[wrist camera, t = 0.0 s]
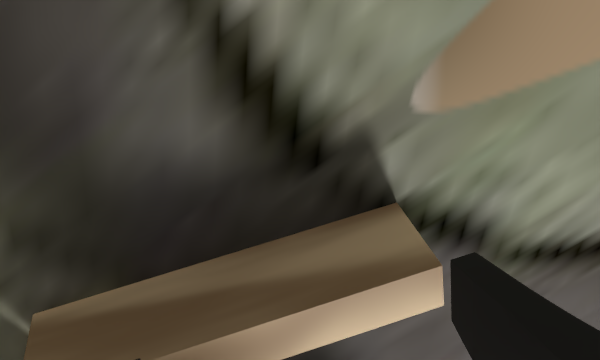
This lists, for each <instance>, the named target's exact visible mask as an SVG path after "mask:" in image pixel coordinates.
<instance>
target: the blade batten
mask: <svg viewBox="0 0 600 360" xmlns="http://www.w3.org/2000/svg"><path fill="white" fill-rule="evenodd" d="M441 306H444V297H443V273H442V265H441V263H440V262H439V261H438V259H437V258H436V256H435V255H434V254H433V252H432V251H431V249H430V248H429V247H428V245H427V244H426V243H425V241H424V240H423V238H422V237H421V236H420V234H419V233H418V231H417V230H416V229H415V227H414V226H413V224H412V223H411V222H410V220H409V219H408V218H407V216H406V215H405V213H404V212H403V211H402V209H401V208H400V206H399V205H398V204H397V203H394V204H390V205H387V206H384V207H381V208H377V209H374V210H371V211H367V212H364V213H361V214H358V215H354V216H351V217H348V218H345V219H341V220H338V221H335V222H332V223H328V224H325V225H322V226H319V227H315V228H312V229H309V230H306V231H302V232H299V233H296V234H293V235H289V236H286V237H283V238H280V239H276V240H273V241H270V242H267V243H263V244H260V245H257V246H254V247H250V248H247V249H244V250H241V251H237V252H234V253H231V254H228V255H224V256H221V257H218V258H215V259H211V260H208V261H205V262H202V263H198V264H195V265H192V266H189V267H185V268H182V269H179V270H175V271H172V272H169V273H166V274H162V275H159V276H156V277H153V278H149V279H146V280H143V281H140V282H136V283H133V284H130V285H127V286H123V287H120V288H117V289H114V290H110V291H107V292H104V293H101V294H97V295H94V296H91V297H88V298H84V299H81V300H78V301H75V302H71V303H68V304H65V305H62V306H58V307H55V308H52V309H49V310H45V311H42V312H39V313H36V314H33V317H32V321H31V326H30V331H29V336H28V340H27V345H26V350H25V355H24V360H135V359H138V358H140V359H141V360H282V359H285V358H288V357H291V356H294V355H297V354H300V353H303V352H306V351H309V350H312V349H315V348H318V347H321V346H324V345H327V344H330V343H333V342H336V341H339V340H342V339H345V338H348V337H351V336H354V335H357V334H360V333H363V332H366V331H369V330H372V329H375V328H378V327H381V326H384V325H387V324H390V323H393V322H396V321H399V320H402V319H405V318H408V317H411V316H414V315H417V314H420V313H423V312H426V311H429V310H432V309H435V308H438V307H441Z"/></svg>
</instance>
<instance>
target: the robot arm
mask: <svg viewBox="0 0 600 360" xmlns="http://www.w3.org/2000/svg"><path fill="white" fill-rule="evenodd" d="M451 311H452V322H453V324H454V326H455V328H456V330H457V332H458V334H459V336H460V337H461V339H462V341H463V343H464V345H465V347H466V349H467V351H468V352H469V354H470V356H471V358H472V360H600V331H599V330H597V329H596V328H594V327H592V326H590V325H588V324H587V323H585V322H583V321H581V320H580V319H578V318H576V317H575V316H573V315H571V314H570V313H568V312H566V311H565V310H563V309H561V308H560V307H558V306H557V305H555V304H553V303H552V302H550V301H548V300H547V299H545V298H544V297H542V296H540V295H539V294H537V293H536V292H534V291H533V290H531V289H530V288H528V287H526V286H525V285H523V284H522V283H520V282H519V281H517V280H516V279H514V278H513V277H511V276H510V275H508V274H507V273H505V272H504V271H503V270H501V269H500V268H498V267H497V266H495V265H494V264H492V263H491V262H489V261H488V260H486V259H485V258H483V257H482V256H480V255H479V254H477V253H475V252H474V253H471V254H468V255H465V256H462V257H458V258H455V259H452V260H451ZM135 360H141V359H140V358H138V359H135Z"/></svg>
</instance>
